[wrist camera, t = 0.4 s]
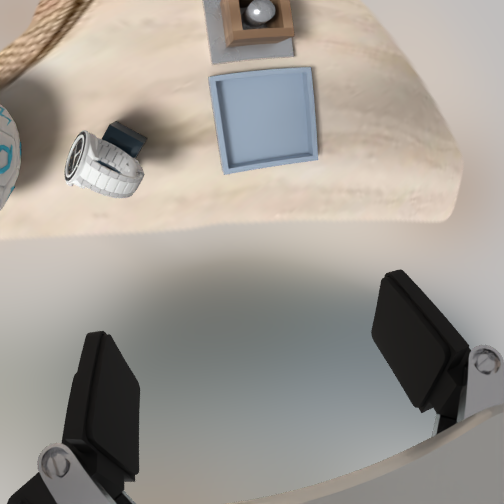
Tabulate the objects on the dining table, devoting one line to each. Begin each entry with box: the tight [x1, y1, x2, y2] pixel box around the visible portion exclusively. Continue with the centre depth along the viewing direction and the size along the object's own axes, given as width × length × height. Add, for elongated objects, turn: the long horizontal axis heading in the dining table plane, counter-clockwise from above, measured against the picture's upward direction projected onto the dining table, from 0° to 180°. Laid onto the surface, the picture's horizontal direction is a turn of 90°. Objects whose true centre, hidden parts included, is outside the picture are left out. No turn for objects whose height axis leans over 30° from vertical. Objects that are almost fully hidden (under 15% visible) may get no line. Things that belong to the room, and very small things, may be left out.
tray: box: [208, 67, 318, 175], centre depth 33 cm, size 11×11×2 cm
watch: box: [65, 121, 147, 198], centre depth 28 cm, size 6×8×11 cm
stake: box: [203, 0, 294, 65], centre depth 24 cm, size 9×9×8 cm
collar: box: [220, 0, 294, 48], centre depth 24 cm, size 6×6×6 cm
